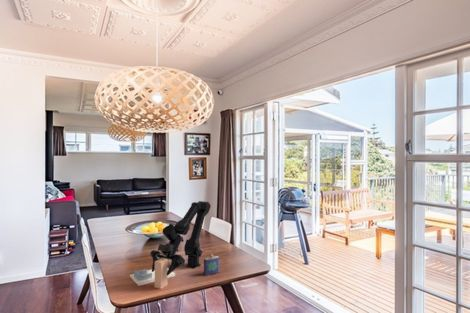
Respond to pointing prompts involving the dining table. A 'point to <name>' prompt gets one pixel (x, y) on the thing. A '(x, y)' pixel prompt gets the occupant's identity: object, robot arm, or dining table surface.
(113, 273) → the dining table surface
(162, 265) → the tall peach block
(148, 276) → the dock
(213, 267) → the flask
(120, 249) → the dining table surface
